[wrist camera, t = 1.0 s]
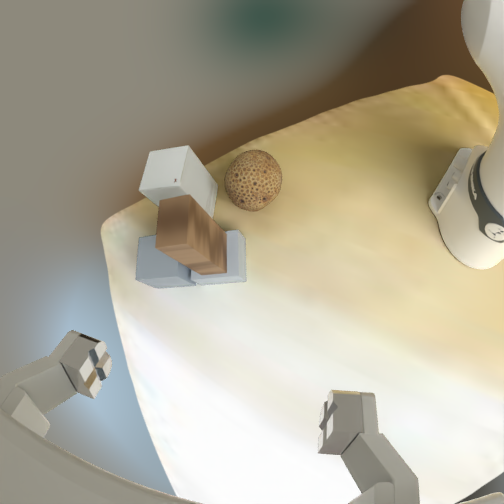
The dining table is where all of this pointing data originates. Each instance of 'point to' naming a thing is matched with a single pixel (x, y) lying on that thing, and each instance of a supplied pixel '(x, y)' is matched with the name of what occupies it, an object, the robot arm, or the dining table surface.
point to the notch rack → (178, 275)
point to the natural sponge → (253, 180)
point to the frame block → (191, 236)
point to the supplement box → (178, 178)
